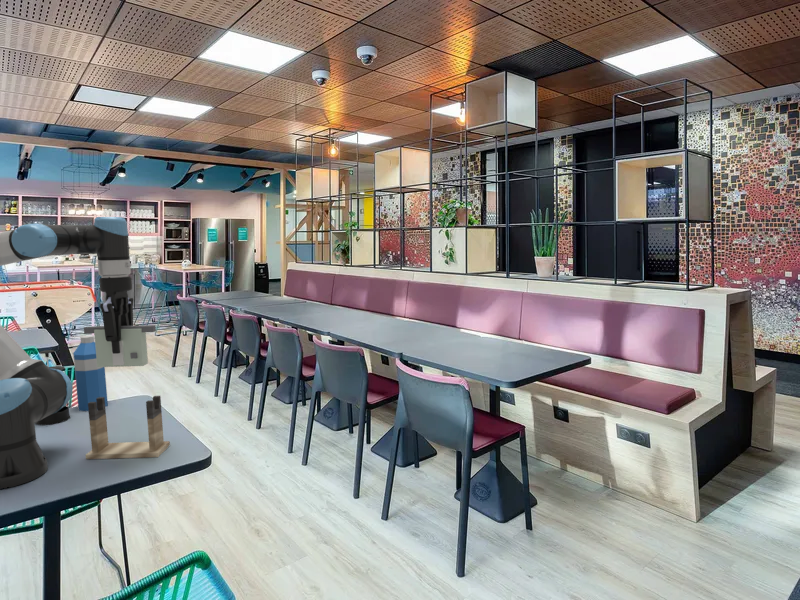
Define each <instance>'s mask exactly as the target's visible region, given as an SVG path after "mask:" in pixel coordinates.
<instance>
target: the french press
mask: <svg viewBox="0 0 800 600" xmlns="http://www.w3.org/2000/svg"><path fill="white" fill-rule="evenodd" d="M52 353H55V350H54V349H53V350H51V349H49V350H42V351H39V352H38V354H40V355H41V354H42V355H43V354H44V355H45V356H44V357H45V358H46V366H47V367H48V368H49V369H56V370H61V371H62V372H64V370H65V369H66V367H65V366H61V365H60V366H59V365H58V366H57V365H54V366H49V365H50V363H49V357H50V354H52ZM69 407H70V406H69V402H68V403H67V404H66V405H65V406H64V407H63V408H61V409H60V410H59V411H57V412H56V413H54V414H51V415H49V416H47V417H45V418H43V419H42V420H40V421H38V422H36V423H35V425H38V426H50V425H57V424H62V423H63V422H66V421H68V420H69V419H71V415H70V408H69Z"/></svg>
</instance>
